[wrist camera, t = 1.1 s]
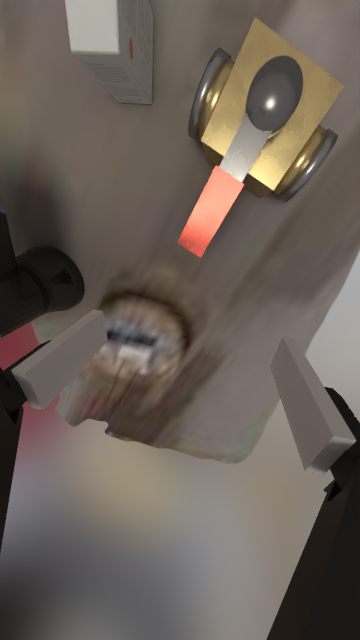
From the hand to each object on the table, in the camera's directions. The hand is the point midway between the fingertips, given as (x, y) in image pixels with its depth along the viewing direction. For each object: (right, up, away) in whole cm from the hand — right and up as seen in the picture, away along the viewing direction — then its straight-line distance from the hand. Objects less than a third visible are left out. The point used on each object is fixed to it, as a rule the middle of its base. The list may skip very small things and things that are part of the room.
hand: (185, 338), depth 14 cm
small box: (-7, +37, +12) cm, 40 cm away
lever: (+5, +17, +7) cm, 19 cm away
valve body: (+10, +27, +14) cm, 32 cm away
